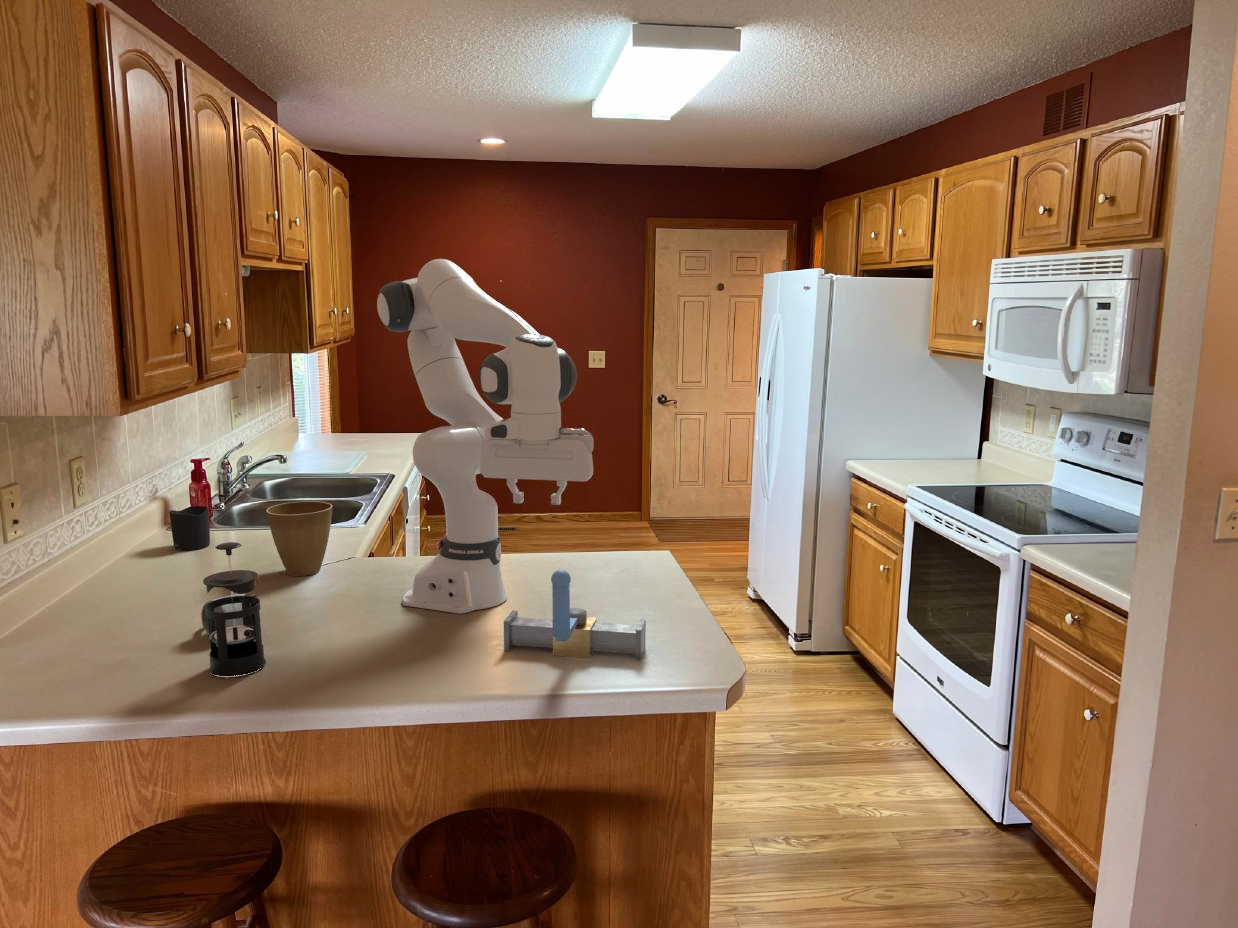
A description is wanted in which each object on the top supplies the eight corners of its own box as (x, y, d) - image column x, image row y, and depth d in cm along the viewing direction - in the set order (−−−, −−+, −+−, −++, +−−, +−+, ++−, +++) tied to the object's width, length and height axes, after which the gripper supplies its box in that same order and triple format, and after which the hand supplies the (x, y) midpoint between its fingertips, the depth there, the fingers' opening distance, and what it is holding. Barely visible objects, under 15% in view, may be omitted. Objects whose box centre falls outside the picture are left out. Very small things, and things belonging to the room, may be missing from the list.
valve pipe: (503, 651, 170) (503, 621, 169) (513, 639, 176) (512, 609, 175) (640, 661, 166) (640, 630, 165) (645, 648, 172) (645, 618, 171)
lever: (566, 616, 172) (565, 548, 170) (588, 617, 172) (588, 549, 169) (546, 645, 158) (546, 572, 155) (571, 647, 157) (571, 573, 155)
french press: (247, 681, 157) (237, 553, 153) (196, 678, 158) (185, 551, 154) (280, 654, 168) (271, 535, 164) (232, 652, 169) (222, 533, 165)
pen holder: (177, 542, 243) (173, 506, 241) (214, 540, 245) (211, 504, 243) (168, 552, 234) (165, 515, 232) (207, 550, 236) (204, 513, 234)
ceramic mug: (262, 628, 181) (259, 591, 180) (228, 642, 174) (224, 603, 173) (225, 620, 186) (222, 584, 185) (191, 633, 179) (187, 596, 178)
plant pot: (349, 568, 221) (345, 505, 218) (298, 585, 208) (294, 517, 205) (308, 559, 228) (304, 497, 225) (257, 574, 216) (252, 509, 213)
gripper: (597, 426, 162) (597, 501, 164) (486, 423, 165) (488, 497, 167) (590, 431, 155) (590, 509, 158) (475, 428, 159) (478, 505, 161)
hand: (537, 503), depth 163 cm, fingers open, 5 cm apart
